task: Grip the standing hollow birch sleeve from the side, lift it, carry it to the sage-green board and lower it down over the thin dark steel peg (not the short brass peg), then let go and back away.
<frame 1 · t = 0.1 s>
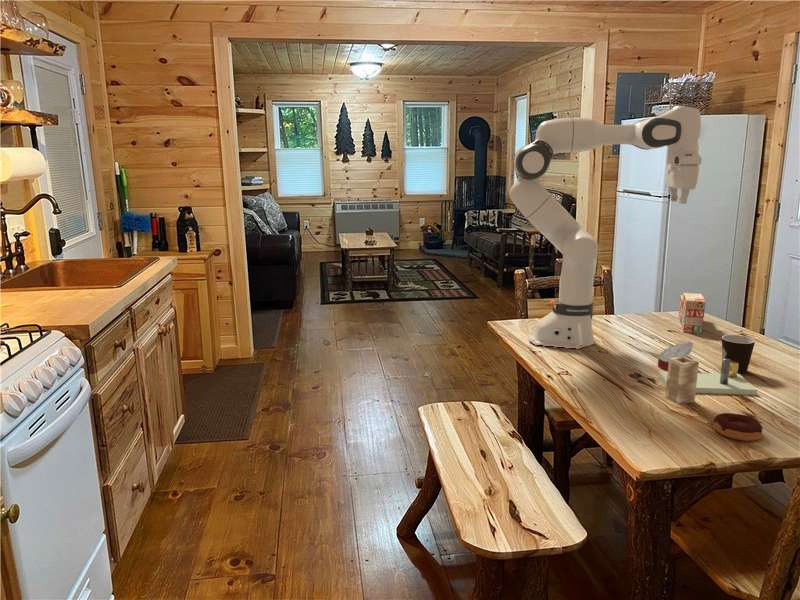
hand: (678, 202, 191), 48 cm above the table, tool pointing down, fingers open, 8 cm apart
donut: (736, 434, 137), on the table
coffee mug: (734, 369, 177), on the table
peg board: (705, 385, 165), on the table
sleeve: (679, 399, 156), on the table
brass peg: (730, 380, 168), resting on peg board
stack of blocks: (689, 326, 223), on the table
canned food: (674, 368, 180), on the table
steel peg: (723, 388, 163), resting on peg board
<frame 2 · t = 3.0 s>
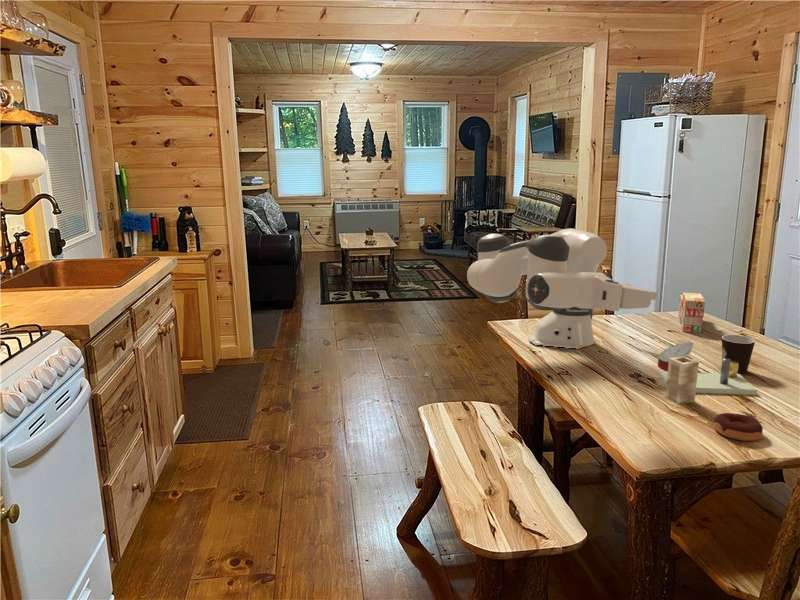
hand: (641, 291, 146), 30 cm above the table, tool horizontal, fingers open, 8 cm apart
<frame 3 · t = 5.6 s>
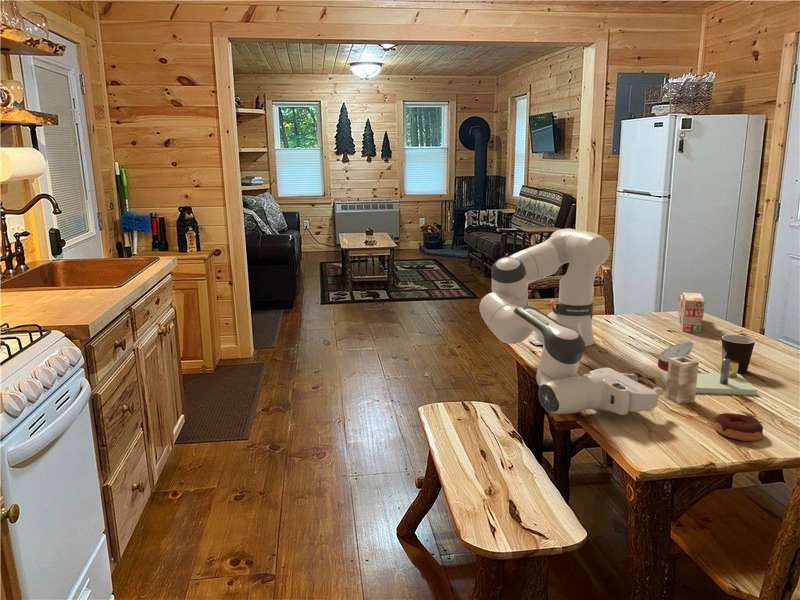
hand: (648, 383, 152), 6 cm above the table, tool horizontal, fingers open, 8 cm apart
nothing on the table moved.
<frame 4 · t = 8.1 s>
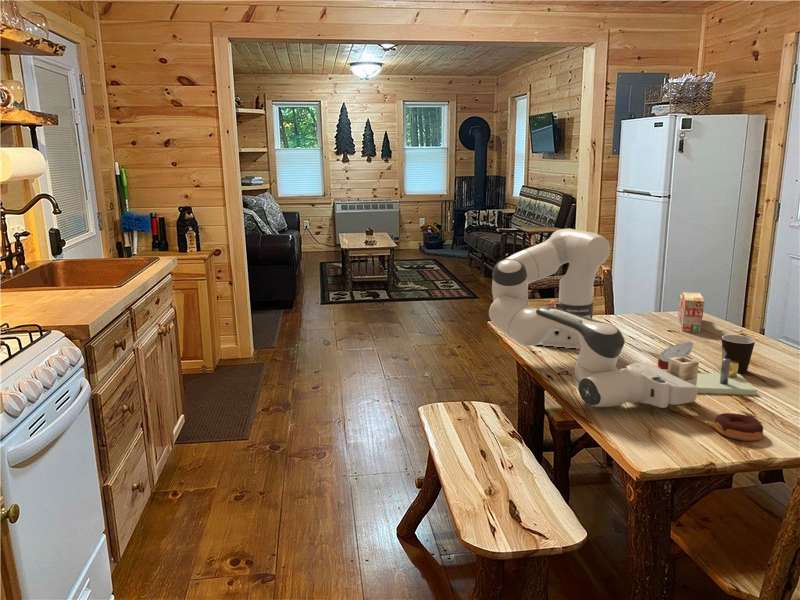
hand: (684, 377, 155), 6 cm above the table, tool horizontal, fingers closed on sleeve, 5 cm apart
sleeve: (679, 399, 156), on the table, touching gripper
everything else where it was.
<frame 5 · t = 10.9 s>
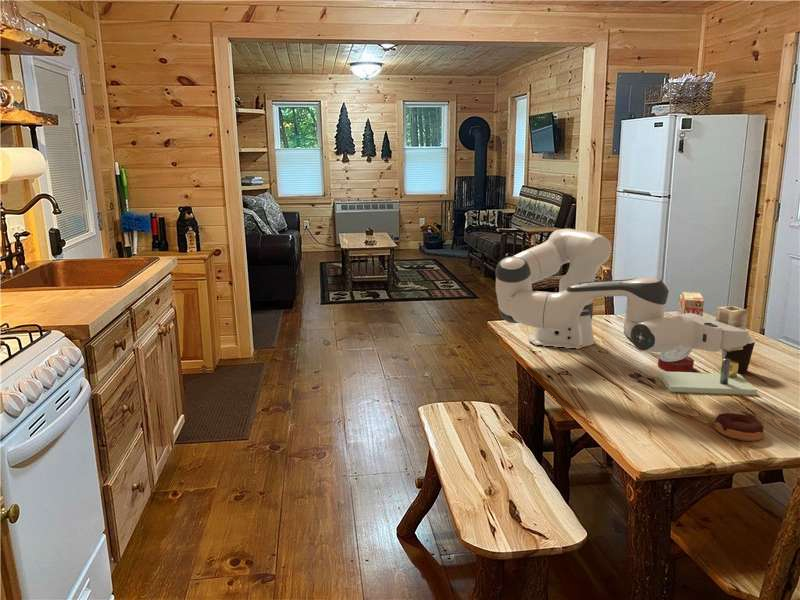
hand: (732, 326, 159), 18 cm above the table, tool horizontal, fingers closed on sleeve, 5 cm apart
sleeve: (727, 347, 160), point 12 cm above the table, touching gripper
when the fingers open (8 cm above the table, at t = 13.5 s): sleeve stays where it is, resting on peg board.
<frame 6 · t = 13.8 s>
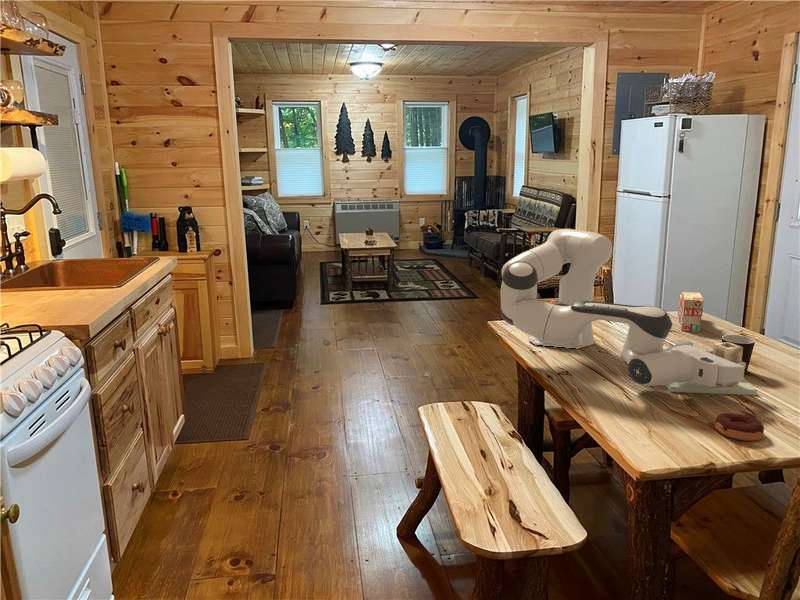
hand: (729, 359, 161), 8 cm above the table, tool horizontal, fingers open, 8 cm apart
sleeve: (723, 383, 163), point 1 cm above the table, touching peg board
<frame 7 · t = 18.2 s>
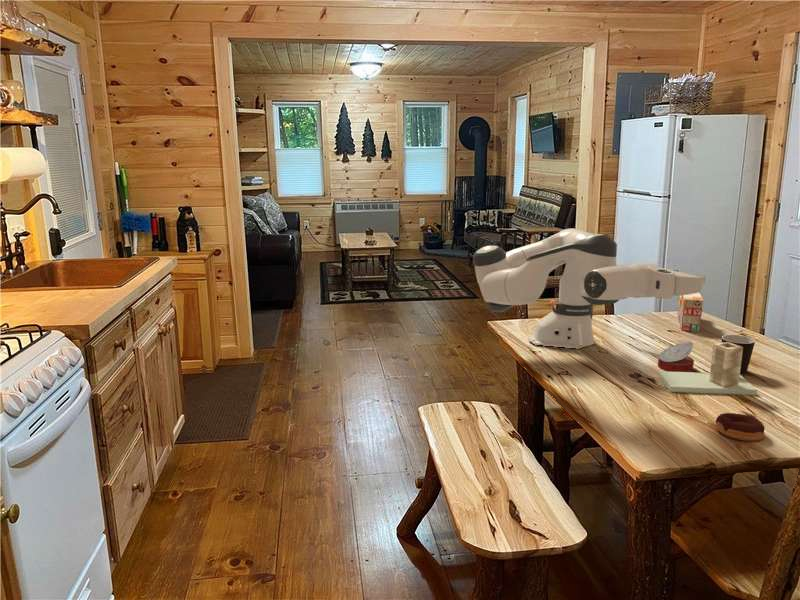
hand: (689, 276, 156), 32 cm above the table, tool horizontal, fingers open, 8 cm apart
at the end: sleeve 0.0 cm off-centre on the steel peg, point 1.5 cm above the steel peg's base; sleeve tilted 0°; the gripper is holding nothing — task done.
